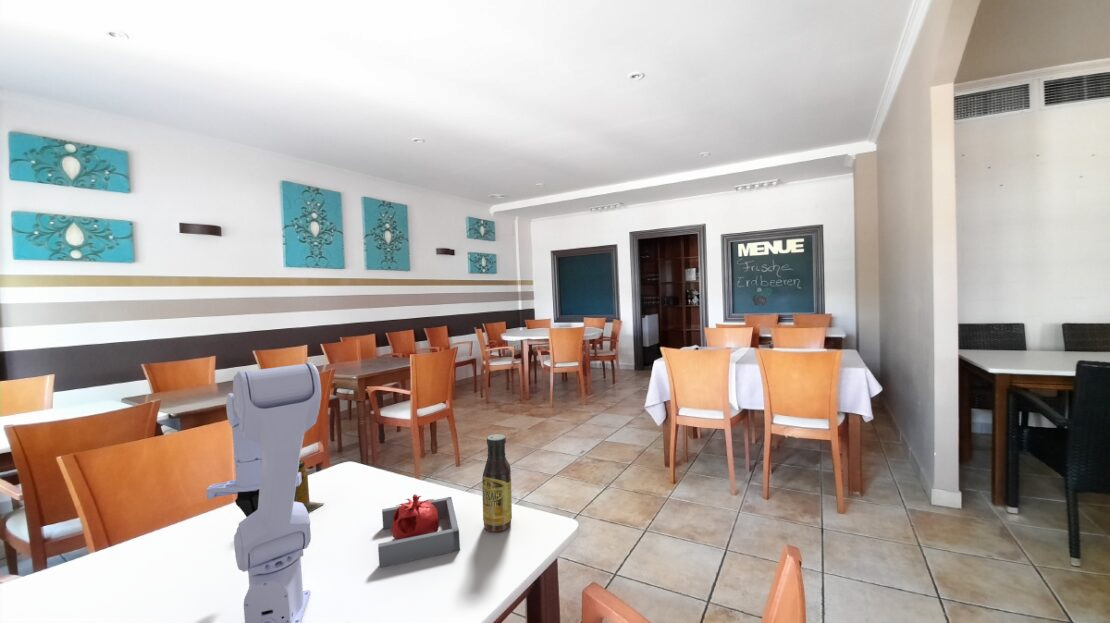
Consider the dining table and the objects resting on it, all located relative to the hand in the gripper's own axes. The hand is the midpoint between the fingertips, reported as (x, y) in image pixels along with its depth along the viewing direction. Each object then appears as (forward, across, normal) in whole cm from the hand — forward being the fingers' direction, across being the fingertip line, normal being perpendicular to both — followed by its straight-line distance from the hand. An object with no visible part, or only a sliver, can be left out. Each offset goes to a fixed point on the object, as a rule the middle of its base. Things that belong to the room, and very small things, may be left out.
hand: (259, 529), depth 82 cm
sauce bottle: (+10, -44, -2) cm, 45 cm away
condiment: (+10, 0, -28) cm, 30 cm away
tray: (+9, -28, -4) cm, 30 cm away
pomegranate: (+10, -27, -5) cm, 29 cm away
